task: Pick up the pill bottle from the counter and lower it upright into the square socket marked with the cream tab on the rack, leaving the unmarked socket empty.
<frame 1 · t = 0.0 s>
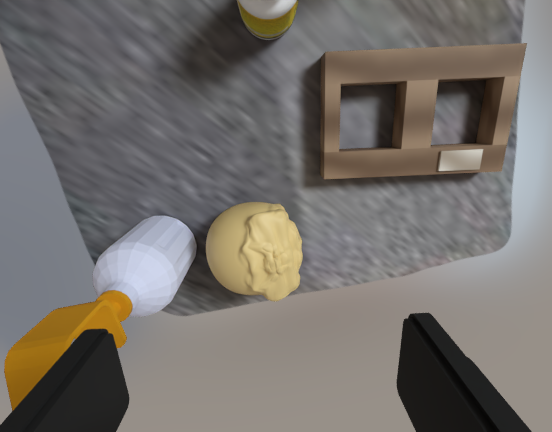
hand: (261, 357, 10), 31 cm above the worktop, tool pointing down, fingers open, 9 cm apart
soap bottle: (165, 244, 42), on the worktop
sculpture: (256, 233, 42), on the worktop
socket rack: (407, 115, 37), on the worktop
pill bottle: (268, 10, 33), on the worktop
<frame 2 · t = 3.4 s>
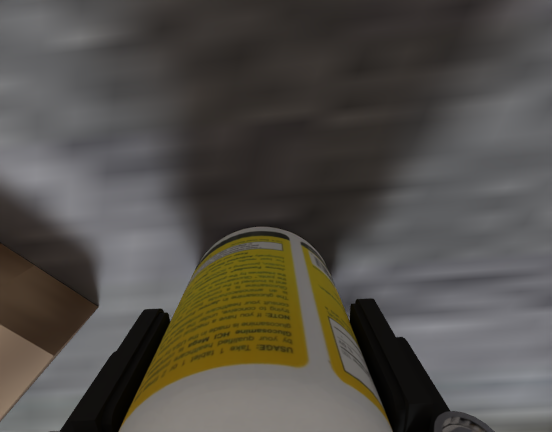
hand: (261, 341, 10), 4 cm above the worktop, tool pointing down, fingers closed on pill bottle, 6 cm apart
pill bottle: (263, 283, 14), on the worktop, touching gripper
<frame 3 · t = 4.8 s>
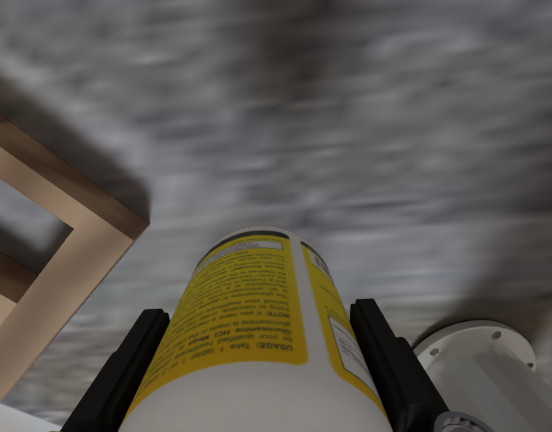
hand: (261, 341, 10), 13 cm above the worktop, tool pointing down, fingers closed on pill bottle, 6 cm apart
pill bottle: (263, 282, 14), point 9 cm above the worktop, touching gripper
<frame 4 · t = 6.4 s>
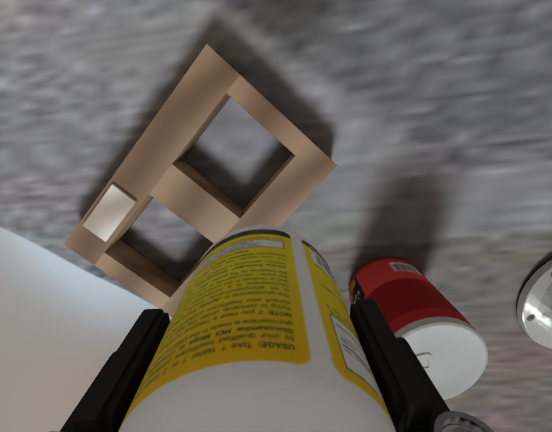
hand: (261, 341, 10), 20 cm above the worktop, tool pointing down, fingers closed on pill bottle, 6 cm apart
socket rack: (202, 198, 29), on the worktop
canned food: (382, 285, 33), on the worktop
pill bottle: (263, 281, 14), point 16 cm above the worktop, touching gripper
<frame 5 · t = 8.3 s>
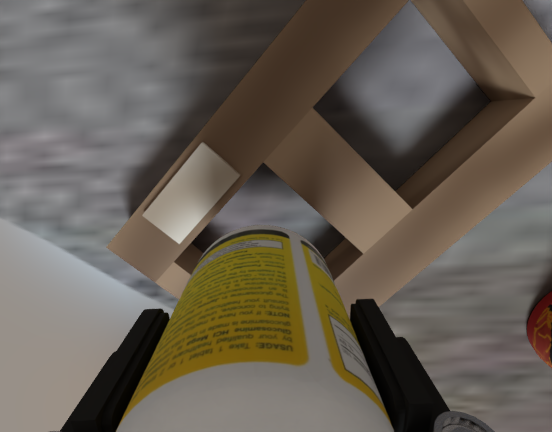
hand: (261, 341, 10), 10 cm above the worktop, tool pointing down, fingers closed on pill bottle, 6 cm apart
socket rack: (329, 175, 18), on the worktop
pill bottle: (263, 282, 14), point 6 cm above the worktop, touching gripper
when the fingers open (4 cm above the worktop, at t = 9.8 s): pill bottle stays where it is, resting in socket rack.
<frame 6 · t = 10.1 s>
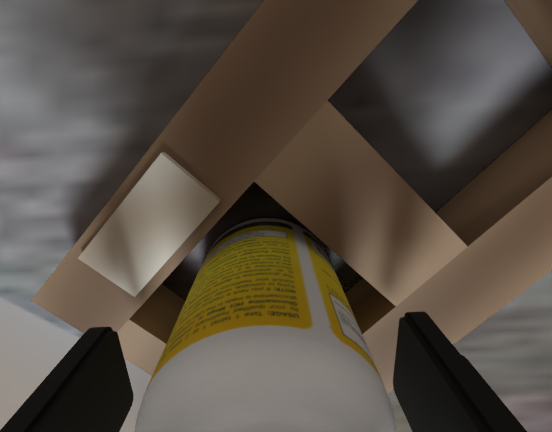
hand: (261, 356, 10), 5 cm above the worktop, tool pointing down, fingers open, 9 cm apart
socket rack: (345, 194, 13), on the worktop
pill bottle: (267, 271, 15), resting in socket rack
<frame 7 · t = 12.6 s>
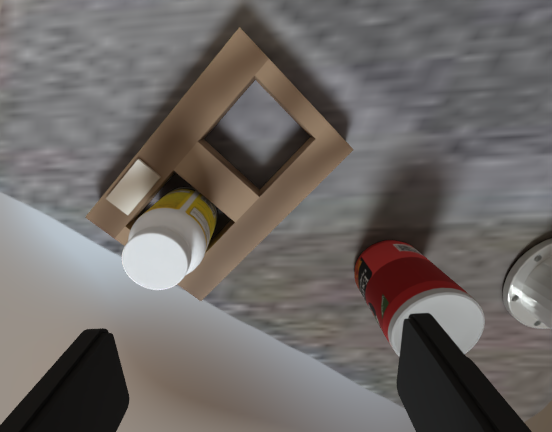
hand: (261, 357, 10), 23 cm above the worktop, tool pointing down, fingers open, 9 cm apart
socket rack: (221, 177, 30), on the worktop
canned food: (384, 266, 35), on the worktop
pill bottle: (189, 213, 32), resting in socket rack
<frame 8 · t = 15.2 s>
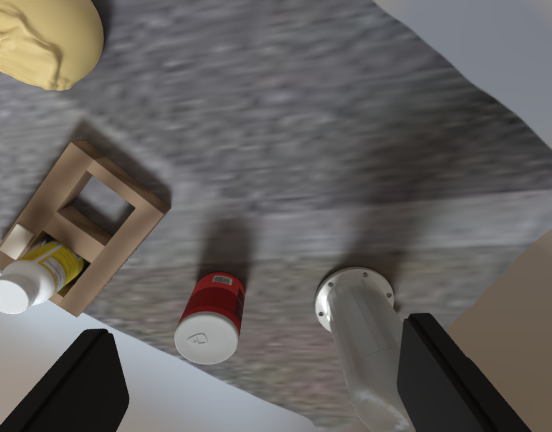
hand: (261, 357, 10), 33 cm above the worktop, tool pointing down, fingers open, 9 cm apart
sculpture: (68, 37, 36), on the worktop
socket rack: (87, 230, 43), on the worktop
canned food: (220, 290, 47), on the worktop
pill bottle: (69, 254, 45), resting in socket rack
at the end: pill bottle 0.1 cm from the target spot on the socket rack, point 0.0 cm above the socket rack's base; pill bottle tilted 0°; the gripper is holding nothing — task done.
